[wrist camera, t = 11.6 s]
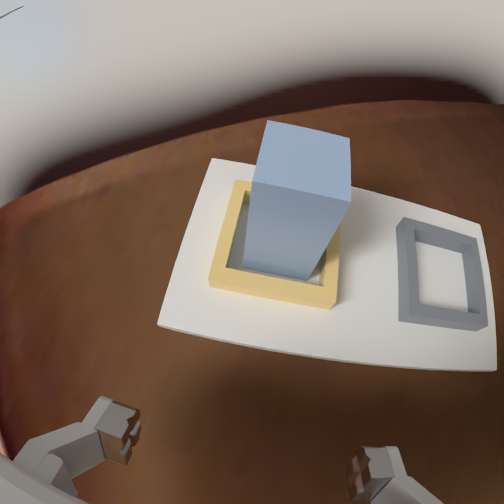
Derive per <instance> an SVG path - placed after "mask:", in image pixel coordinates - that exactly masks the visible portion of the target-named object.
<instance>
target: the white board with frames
mask: <svg viewBox="0 0 504 504" xmlns="http://www.w3.org/2000/svg"><path fill="white" fill-rule="evenodd" d="M255 168H256V165H250V164H245V163H239V162H233V161H227V160H221V159H215V158H212V160H211V163H210V165H209V168H208V170H207V173H206V176H205V179H204V181H203V184H202V187H201V189H200V192H199V195H198V198H197V201H196V203H195V206H194V209H193V212H192V215H191V218H190V221H189V223H188V226H187V229H186V232H185V235H184V238H183V241H182V244H181V247H180V250H179V253H178V257H177V260H176V263H175V266H174V269H173V272H172V276H171V279H170V282H169V285H168V289H167V292H166V295H165V298H164V302H163V305H162V309H161V312H160V316H159V319H158V323H157V324H158V326H159V327H163V328H167V329H171V330H175V331H179V332H183V333H187V334H191V335H195V336H200V337H204V338H209V339H213V340H218V341H222V342H227V343H232V344H237V345H242V346H247V347H252V348H257V349H263V350H268V351H274V352H280V353H285V354H291V355H298V356H304V357H311V358H317V359H324V360H332V361H339V362H347V363H356V364H365V365H374V366H384V367H395V368H408V369H422V370H440V371H469V372H493V371H496V370H497V346H496V327H495V314H494V304H493V295H492V287H491V280H490V273H489V267H488V261H487V256H486V250H485V245H484V240H483V236H482V231H481V227H480V225H479V224H476V223H474V222H471V221H468V220H465V219H462V218H459V217H456V216H453V215H450V214H447V213H444V212H441V211H437V210H434V209H431V208H428V207H425V206H421V205H418V204H415V203H411V202H408V201H404V200H401V199H397V198H394V197H390V196H387V195H383V194H379V193H376V192H372V191H368V190H364V189H360V188H356V187H352V186H351V204H350V205H349V207H348V209H347V211H346V213H345V215H344V217H343V218H342V220H341V222H340V224H339V226H338V227H337V229H336V231H335V233H334V235H333V236H332V238H331V240H330V242H329V244H328V245H327V247H326V249H325V251H324V252H323V254H322V256H321V258H320V259H319V261H318V263H317V265H316V266H315V268H314V270H313V271H312V273H311V275H310V277H309V278H308V280H307V281H304V280H299V279H294V278H288V277H283V276H278V275H273V274H268V273H263V272H258V271H253V270H248V269H243V268H242V266H243V257H244V248H245V239H246V230H247V222H248V213H249V204H250V196H251V187H252V180H253V176H254V172H255Z"/></svg>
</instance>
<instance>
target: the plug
mask: <svg viewBox="0 0 504 504" xmlns="http://www.w3.org/2000/svg"><path fill="white" fill-rule="evenodd" d="M350 204H351V163H350V139H349V138H346V137H342V136H338V135H334V134H330V133H326V132H322V131H317V130H313V129H309V128H304V127H299V126H295V125H290V124H285V123H280V122H274V121H269V120H267V124H266V128H265V132H264V136H263V140H262V144H261V148H260V152H259V156H258V160H257V164H256V168H255V172H254V176H253V180H252V187H251V196H250V204H249V213H248V222H247V230H246V239H245V248H244V257H243V266H242V268H243V269H248V270H253V271H258V272H263V273H268V274H273V275H278V276H283V277H288V278H294V279H299V280H304V281H307V280H308V278H309V277H310V275H311V273H312V271H313V270H314V268H315V266H316V265H317V263H318V261H319V259H320V258H321V256H322V254H323V252H324V251H325V249H326V247H327V245H328V244H329V242H330V240H331V238H332V236H333V235H334V233H335V231H336V229H337V227H338V226H339V224H340V222H341V220H342V218H343V217H344V215H345V213H346V211H347V209H348V207H349V205H350Z"/></svg>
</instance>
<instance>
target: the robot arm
mask: <svg viewBox="0 0 504 504" xmlns="http://www.w3.org/2000/svg"><path fill="white" fill-rule="evenodd" d="M139 417H140V410H139V409H136V408H134V407H131V406H128V405H125V404H123V403H120V402H117V401H115V400H112V399H109V398H107V397H104V396H101V397H99V398H98V400H97V401H96V403H95V404H94V405H93V407H92V408H91V410H90V411H89V413H88V414H87V416H86V417H85V419H84V420H83V422H82V423H79V422H77V423H74V424H71V425H69V426H66V427H63V428H61V429H58V430H55V431H52V432H50V433H47V434H44V435H41V436H38V437H36V438H33V439H30V440H28V442H27V443H26V444H25V446H24V447H23V448H22V450H21V451H20V452H19V454H18V455H17V456H16V458H15V459H14V460H13V461H11V460H10V459H8V458H7V457H5V456H4V455H2V454H1V453H0V504H89V503H87V502H85V501H83V500H80V499H78V498H76V496H77V494H78V493H77V490H76V488H75V486H74V484H73V482H72V480H71V479H73V478H74V477H76V476H78V475H80V474H82V473H83V472H85V471H87V470H89V469H90V468H92V467H94V466H96V465H97V464H99V463H101V462H102V461H104V460H105V459H107V460H110V461H113V462H115V463H118V464H121V465H124V466H127V463H128V461H129V459H130V457H131V455H132V449H131V447H133V446H135V445H136V444H137V442H138V440H139V436H140V432H141V423H140V422H139V421H138V419H139ZM356 454H357V456H356V457H354V458H352V459H351V460H350V462H349V464H348V467H347V473H346V475H347V480H348V481H349V482H350V483H351V486H350V487H349V495H350V502H369V501H371V502H370V503H371V504H443V503H442V502H441V501H440V500H439V499H437V498H436V497H435V496H434V495H432V494H431V493H430V492H429V491H427V490H426V489H425V488H424V487H423V486H421V485H420V484H419V483H418V482H417V481H415V480H414V479H413V478H412V477H411V476H407V474H406V470H405V467H404V464H403V461H402V458H401V455H400V452H399V449H398V448H397V447H396V446H386V447H384V446H371V447H360V448H359V449H358V450H357V452H356Z"/></svg>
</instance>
